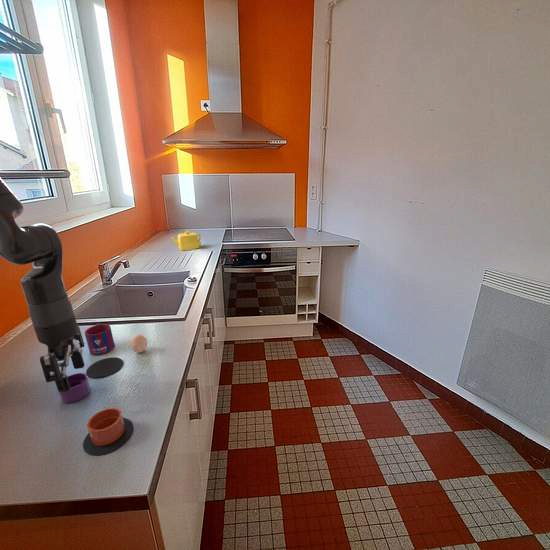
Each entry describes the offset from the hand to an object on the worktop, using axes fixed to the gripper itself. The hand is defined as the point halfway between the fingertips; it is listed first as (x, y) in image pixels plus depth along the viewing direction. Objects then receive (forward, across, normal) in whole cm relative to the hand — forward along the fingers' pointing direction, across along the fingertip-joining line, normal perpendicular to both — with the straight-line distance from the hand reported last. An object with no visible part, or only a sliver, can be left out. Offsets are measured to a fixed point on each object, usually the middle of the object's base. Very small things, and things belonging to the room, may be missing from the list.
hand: (72, 378), depth 71 cm
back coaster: (+5, -10, +3) cm, 12 cm away
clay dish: (+4, +15, +11) cm, 19 cm away
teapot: (+5, -146, +18) cm, 147 cm away
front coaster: (+5, +15, +11) cm, 19 cm away
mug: (+5, -22, -1) cm, 23 cm away
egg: (+5, -16, +11) cm, 20 cm away
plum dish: (+5, 0, 0) cm, 5 cm away
